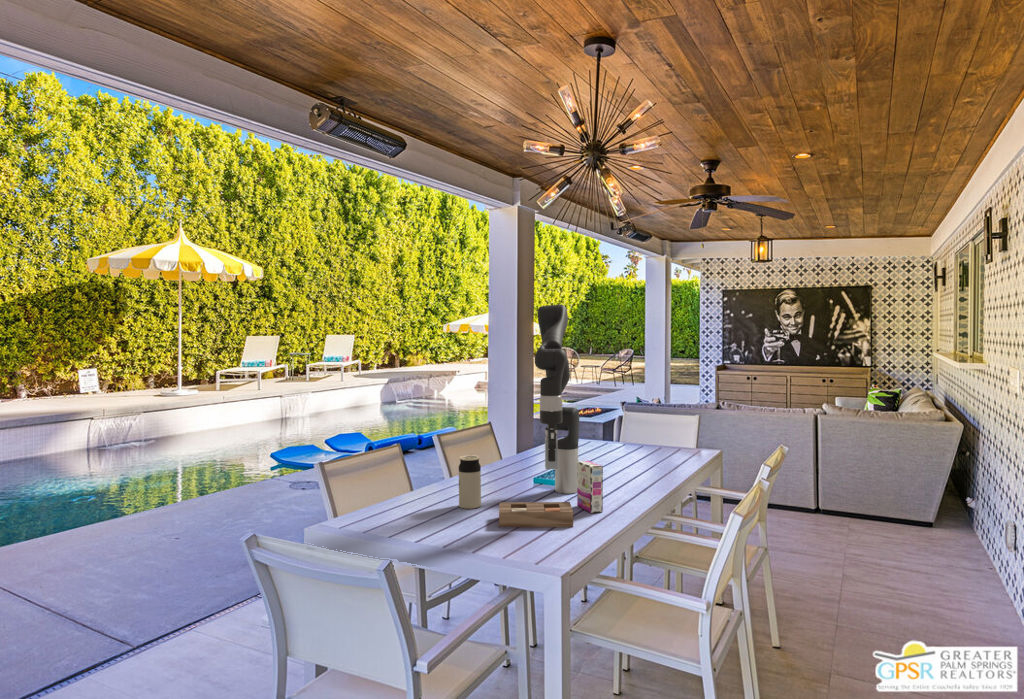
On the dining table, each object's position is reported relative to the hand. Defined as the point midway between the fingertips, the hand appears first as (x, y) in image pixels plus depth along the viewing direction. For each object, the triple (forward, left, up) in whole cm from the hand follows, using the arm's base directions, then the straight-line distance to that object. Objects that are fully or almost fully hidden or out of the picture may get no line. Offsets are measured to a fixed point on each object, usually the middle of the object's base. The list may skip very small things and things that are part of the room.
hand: (551, 459), depth 219 cm
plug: (0, 0, -3) cm, 3 cm away
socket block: (+1, -5, -21) cm, 21 cm away
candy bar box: (-14, +15, -21) cm, 29 cm away
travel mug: (-19, -28, -21) cm, 40 cm away
